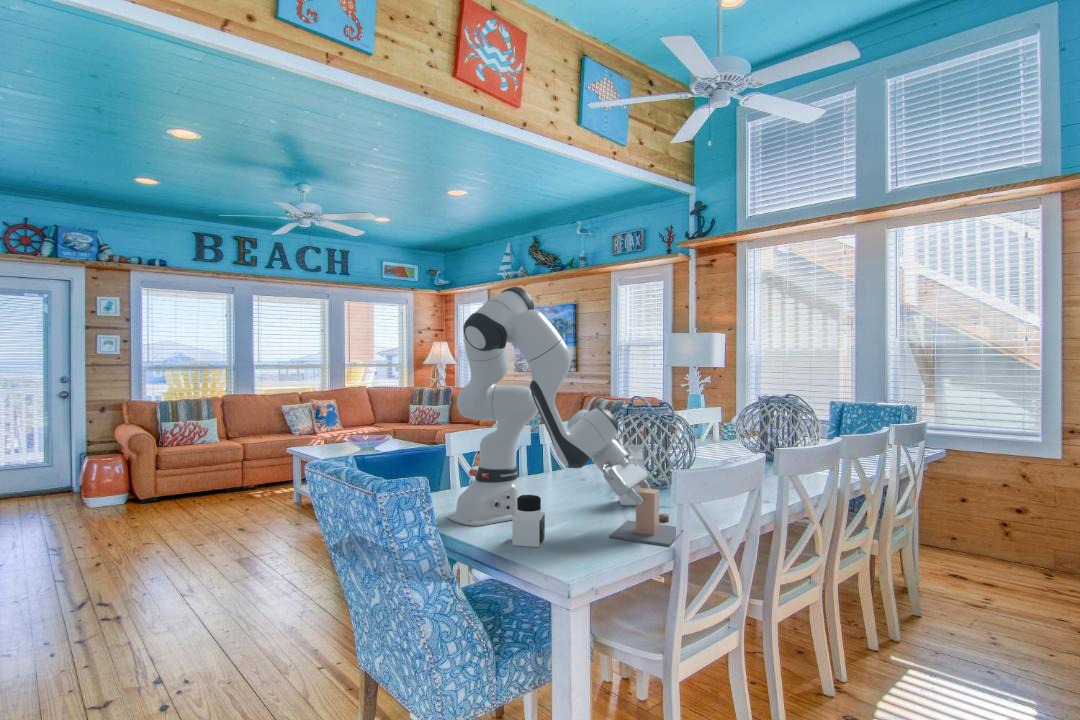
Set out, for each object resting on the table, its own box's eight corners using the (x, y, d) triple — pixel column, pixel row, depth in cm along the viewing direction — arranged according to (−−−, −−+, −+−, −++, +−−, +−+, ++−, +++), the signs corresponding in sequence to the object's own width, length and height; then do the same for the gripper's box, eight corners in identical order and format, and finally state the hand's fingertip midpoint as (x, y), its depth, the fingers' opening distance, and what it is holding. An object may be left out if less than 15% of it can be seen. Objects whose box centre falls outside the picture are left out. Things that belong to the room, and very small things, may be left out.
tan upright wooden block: (635, 532, 158) (636, 491, 158) (641, 527, 163) (641, 487, 163) (654, 535, 156) (654, 493, 156) (659, 530, 161) (659, 489, 160)
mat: (609, 537, 156) (609, 535, 156) (627, 522, 170) (627, 520, 170) (669, 546, 149) (669, 544, 149) (683, 529, 163) (683, 527, 163)
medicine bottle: (540, 547, 147) (540, 499, 147) (512, 546, 149) (512, 498, 149) (544, 539, 154) (545, 493, 154) (518, 537, 156) (518, 492, 156)
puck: (665, 522, 170) (665, 517, 170) (656, 520, 172) (656, 515, 172) (670, 520, 172) (670, 515, 172) (662, 518, 174) (662, 513, 174)
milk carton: (643, 505, 189) (643, 446, 189) (621, 505, 189) (621, 446, 189) (640, 500, 196) (640, 443, 196) (618, 500, 196) (618, 443, 196)
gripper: (608, 458, 154) (644, 500, 149) (631, 447, 172) (664, 484, 168) (591, 474, 155) (627, 515, 151) (616, 461, 174) (648, 498, 170)
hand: (647, 499), depth 160 cm, fingers open, 8 cm apart
